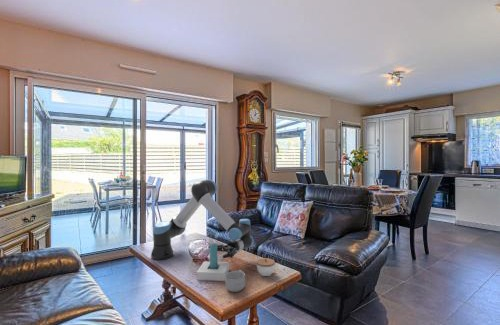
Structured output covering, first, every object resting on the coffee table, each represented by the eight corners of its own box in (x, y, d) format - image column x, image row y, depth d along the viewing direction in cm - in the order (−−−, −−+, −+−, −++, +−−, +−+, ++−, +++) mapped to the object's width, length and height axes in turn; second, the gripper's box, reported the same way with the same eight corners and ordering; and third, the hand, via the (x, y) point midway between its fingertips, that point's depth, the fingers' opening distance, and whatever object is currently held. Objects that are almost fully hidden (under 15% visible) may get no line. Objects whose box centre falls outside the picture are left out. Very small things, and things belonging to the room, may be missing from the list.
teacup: (237, 296, 136) (237, 280, 136) (220, 291, 142) (220, 275, 142) (252, 285, 148) (252, 270, 148) (235, 280, 154) (235, 266, 154)
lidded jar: (276, 277, 157) (276, 261, 157) (258, 279, 155) (258, 262, 155) (272, 270, 168) (272, 254, 168) (255, 271, 166) (255, 256, 166)
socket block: (204, 268, 171) (203, 261, 171) (229, 269, 169) (229, 262, 169) (196, 279, 155) (196, 272, 155) (224, 280, 154) (224, 272, 153)
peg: (210, 272, 165) (210, 243, 164) (218, 272, 164) (217, 243, 164) (209, 275, 160) (208, 245, 160) (216, 276, 160) (216, 245, 159)
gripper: (249, 256, 168) (225, 267, 152) (221, 247, 184) (197, 256, 168) (249, 244, 168) (225, 253, 152) (221, 236, 184) (196, 244, 168)
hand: (210, 255), depth 160 cm, fingers open, 13 cm apart
